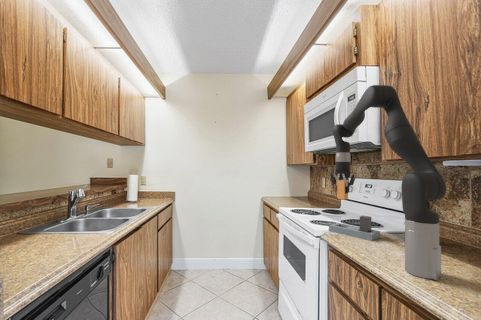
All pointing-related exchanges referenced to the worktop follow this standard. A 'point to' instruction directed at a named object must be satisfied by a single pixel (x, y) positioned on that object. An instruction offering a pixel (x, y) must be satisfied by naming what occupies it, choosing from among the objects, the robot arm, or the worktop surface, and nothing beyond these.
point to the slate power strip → (357, 229)
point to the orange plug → (341, 190)
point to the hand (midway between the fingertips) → (342, 192)
